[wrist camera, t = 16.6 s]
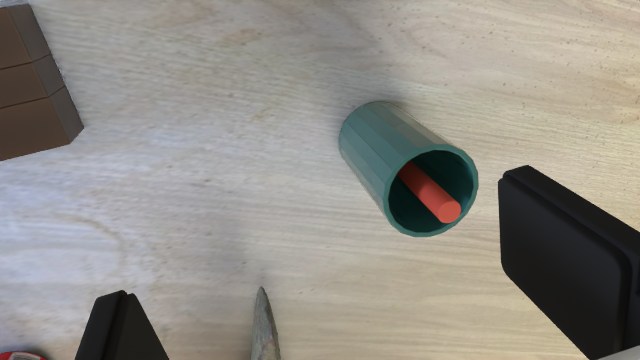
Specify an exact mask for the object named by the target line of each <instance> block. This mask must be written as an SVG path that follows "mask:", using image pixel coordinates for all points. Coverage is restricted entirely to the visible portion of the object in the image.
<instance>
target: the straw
mask: <svg viewBox="0 0 640 360" xmlns="http://www.w3.org/2000/svg"><path fill="white" fill-rule="evenodd" d="M396 175H397V176H398V177H399V178H400V179H401V180H402V181H403V182H404V183H405V184H406V185H407V186H408V188H409V189H410V190H411V191H412V192H413V193H414V194H415V195H416V196H417V197H418V198H419V199H420V200H421V201H422V202H423V203H424V204H425V205H426V206H427V207H428V208H429V209H430V210H431V212H432V213H433V214H434V215H435V216H436V217H437V218H438V219H439V220H440V221H441V222H444V223H451V222H453V221H455V220H456V219H457V218H458V217H459V215H460V213H461V206H460V204H459V203H458V202H457V201H456V200H455V199H453V198H452V197H451V196H450V195H449V194H448V193H447V192H446V191H445V190H443V189H442V188H441V187H440V186H439V185H438V184H437V183H436V182H434V181H433V180H432V179H431V178H430V177H429V176H428V175H427V174H425V173H424V172H423V171H422V170H421V169H420V168H419V167H418V166H417V165H415V164H414V163H413V162H412V161H411V160H409V161H408V162H407V163H406V164H405V165H404V166H403V167H402V168H401V169H400V170H399V171H398V172H397V174H396Z"/></svg>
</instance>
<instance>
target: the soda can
mask: <svg viewBox="0 0 640 360" xmlns="http://www.w3.org/2000/svg"><path fill="white" fill-rule="evenodd" d="M0 360H46V359H44V358H42V357H41V356H38V355H36V354H32V353H28V352H20V351H14V352H5V353H1V354H0Z"/></svg>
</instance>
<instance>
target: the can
mask: <svg viewBox="0 0 640 360" xmlns="http://www.w3.org/2000/svg"><path fill="white" fill-rule="evenodd" d="M339 150H340V153H341V156H342V158H343V160H344V161H345V163H346V164H347V166H348V167H349V169H350V170H351V171H352V173H353V174H354V175H355V177H356V178H357V179H358V181H359V182H360V183H361V185H362V186H363V187H364V189H365V190H366V192H367V193H368V194H369V196H370V197H371V198H372V200H373V201H374V202H375V204H376V205H377V206H378V208H379V209H380V210H381V212H382V213H383V215H384V216H385V217H386V219H387V220H388V221H389V223H390V224H391V225H392V226H393V227H394V228H396V229H397V230H398V231H399V232H401V233H403V234H406V235H409V236H412V237H431V236H434V235H437V234H441V233H443V232H445V231H447V230H448V229H450V228H452V227H453V226H455V225H456V224H457V223H458V222H459V221H460V220H461V219H462V218H463V217H464V216H465V215H466V214H467V213H468V211H469V210H470V208H471V206H472V205H473V203H474V201H475V198H476V194H477V190H478V186H479V185H478V171H477V169H476V167H475V164H474V162H473V160H472V159H471V158H470V157H469V156H468V155H467V154H466V153H465V152H464V151H463V150H462V149H460V148H459V147H457V146H456V145H454V144H453V143H451V142H450V141H448V140H447V139H445V138H444V137H442V136H441V135H439V134H438V133H436V132H435V131H433V130H432V129H430V128H429V127H427V126H426V125H424V124H423V123H421V122H420V121H418V120H417V119H415V118H414V117H412V116H411V115H409V114H408V113H407V112H405V111H404V110H402V109H401V108H399V107H397V106H395V105H393V104H390V103H387V102H372V103H368V104H365V105H363V106H361V107H359V108H358V109H356V110H355V111H354V112H352V113H351V114H350V115H349V116H348V118H347V119H346V120H345V122H344V124H343V126H342V128H341V131H340V135H339ZM409 160H411V161H412V162H413V163H414V164H415V165H417V166H418V167H419V168H420V169H421V170H422V171H423V172H424V173H425V174H427V175H428V176H429V177H430V178H431V179H432V180H433V181H434V182H436V183H437V184H438V185H439V186H440V187H441V188H442V189H443V190H445V191H446V192H447V193H448V194H449V195H450V196H451V197H452V198H453V199H455V200H456V201H457V202H458V203H459V204H460V206H461V213H460V215H459V217H458V218H457V219H456V220H455V221H453V222H451V223H444V222H441V221H440V220H439V219H438V218H437V217H436V216H435V215H434V214H433V213H432V212H431V210H430V209H429V208H428V207H427V206H426V205H425V204H424V203H423V202H422V201H421V200H420V199H419V198H418V197H417V196H416V195H415V194H414V193H413V192H412V191H411V190H410V189H409V188H408V186H407V185H406V184H405V183H404V182H403V181H402V180H401V179H400V178H399V177H398V176H397V175H396V174H397V172H398V171H399V170H400V169H401V168H402V167H403V166H404V165H405V164H406V163H407V162H408V161H409Z"/></svg>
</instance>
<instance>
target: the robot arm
mask: <svg viewBox="0 0 640 360" xmlns="http://www.w3.org/2000/svg"><path fill="white" fill-rule="evenodd" d="M498 199H499V224H500V248H501V264H502V267H503V270H504V272H505V273H506V275H507V276H508V277H509V278H510V279H511V280H512V281H513V282H514V283H515V284H516V285H517V286H518V287H519V288H520V289H521V290H522V291H523V292H524V293H525V294H526V295H527V296H528V297H529V298H530V299H531V300H532V302H533V303H534V304H535V305H536V306H537V307H538V308H539V309H540V310H541V311H542V312H543V313H544V314H545V315H546V316H547V317H548V318H549V319H550V320H551V321H552V322H553V323H554V324H555V325H556V326H557V327H558V328H559V329H560V330H561V331H562V332H563V333H564V334H565V335H566V336H567V337H568V338H569V339H570V340H571V341H572V342H573V343H574V344H575V345H576V346H577V348H578V349H579V350H580V351H581V352H582V353H583V354H584V355H585V356H586V357H587V358H588V359H589V360H640V232H639V231H637V230H635V229H634V228H632V227H630V226H629V225H627V224H625V223H624V222H622V221H620V220H619V219H617V218H615V217H614V216H612V215H610V214H609V213H607V212H605V211H604V210H602V209H601V208H599V207H597V206H596V205H594V204H592V203H591V202H589V201H587V200H586V199H584V198H582V197H581V196H579V195H577V194H576V193H574V192H572V191H571V190H569V189H567V188H566V187H564V186H562V185H561V184H559V183H558V182H556V181H554V180H553V179H551V178H549V177H548V176H546V175H544V174H543V173H541V172H539V171H538V170H536V169H534V168H533V167H531V166H529V165H525V166H521V167H518V168H515V169H512V170H508V171H506V172H505V173H504V174H503V178H502V179H500V180H499V181H498ZM75 360H169V358H168V356H167V354H166V352H165V350H164V348H163V346H162V345H161V343H160V341H159V339H158V337H157V335H156V333H155V331H154V329H153V327H152V325H151V323H150V322H149V320H148V318H147V316H146V314H145V312H144V310H143V308H142V306H141V304H140V302H139V301H138V299H137V297H136V295H135V294H133V293H131V294H127V293H126V292H125V291H123V290H120V291H117V292H114V293H111V294H107V295H104V296H101V297H98V298H97V299H96V301H95V303H94V306H93V309H92V312H91V314H90V317H89V320H88V323H87V326H86V329H85V331H84V334H83V337H82V340H81V343H80V346H79V348H78V351H77V354H76V357H75Z"/></svg>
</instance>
